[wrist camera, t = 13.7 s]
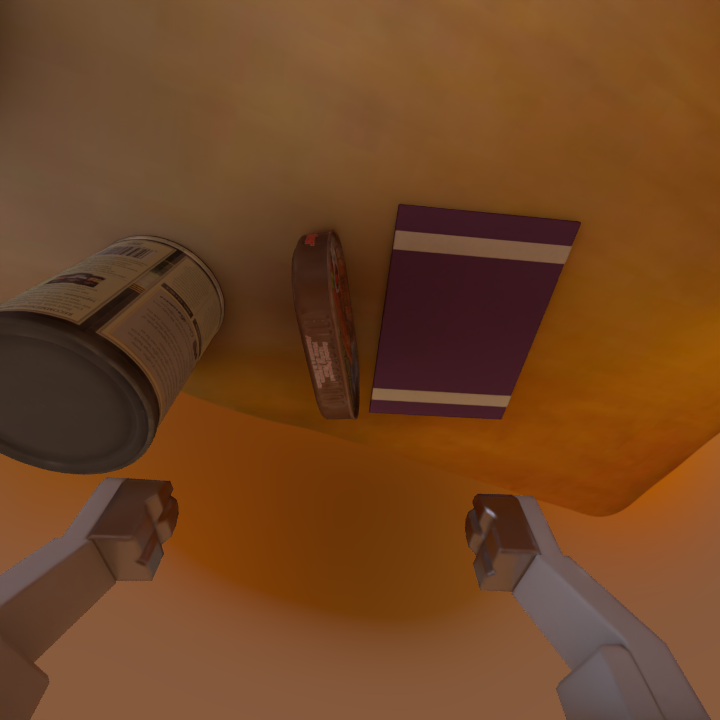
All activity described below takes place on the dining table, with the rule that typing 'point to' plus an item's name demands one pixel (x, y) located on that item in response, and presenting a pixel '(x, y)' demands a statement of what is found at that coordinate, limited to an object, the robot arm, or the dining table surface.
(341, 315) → the tin
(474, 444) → the dining table surface
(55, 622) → the robot arm
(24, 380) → the coffee can
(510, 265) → the cloth
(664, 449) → the dining table surface
